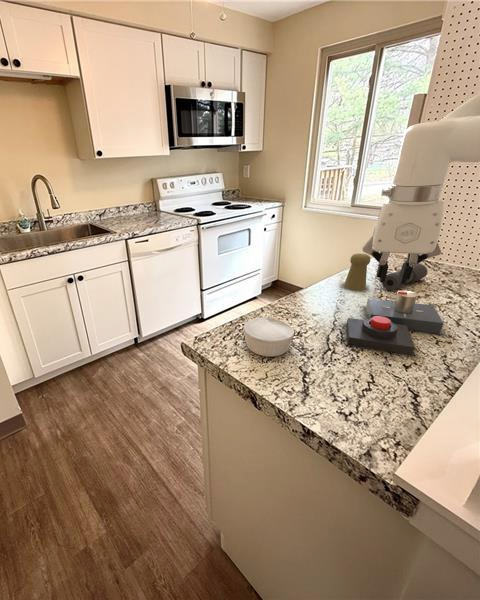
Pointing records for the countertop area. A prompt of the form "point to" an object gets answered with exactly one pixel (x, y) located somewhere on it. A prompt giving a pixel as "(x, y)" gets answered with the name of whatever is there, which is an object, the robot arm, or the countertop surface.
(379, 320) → the power button
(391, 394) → the countertop surface
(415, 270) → the flashlight
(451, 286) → the countertop surface
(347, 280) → the cork
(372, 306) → the control panel
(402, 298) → the dial
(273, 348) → the ramekin
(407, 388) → the countertop surface
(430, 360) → the countertop surface
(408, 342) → the switch block
